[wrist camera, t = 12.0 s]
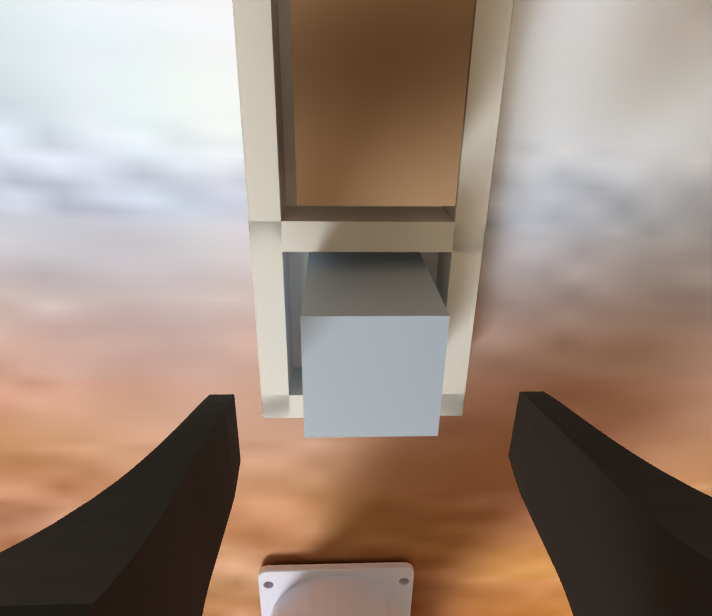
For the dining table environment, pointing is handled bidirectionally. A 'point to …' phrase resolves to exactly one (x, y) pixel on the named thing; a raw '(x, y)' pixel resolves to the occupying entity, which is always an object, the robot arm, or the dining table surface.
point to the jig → (356, 223)
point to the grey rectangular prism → (371, 345)
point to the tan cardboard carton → (379, 100)
